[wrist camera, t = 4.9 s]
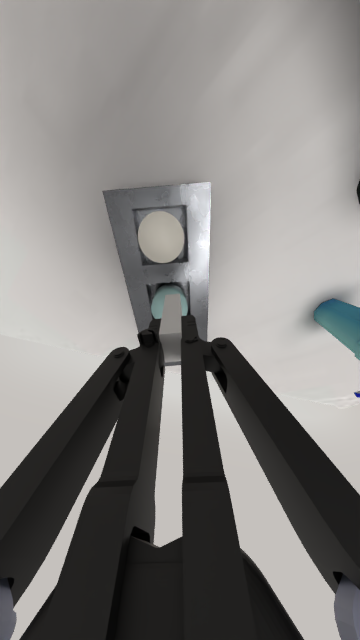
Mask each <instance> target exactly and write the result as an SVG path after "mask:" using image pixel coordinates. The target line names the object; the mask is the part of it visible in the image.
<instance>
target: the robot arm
mask: <svg viewBox="0 0 360 640" xmlns="http://www.w3.org/2000/svg"><path fill="white" fill-rule="evenodd" d="M137 336H138V339H139V342H140V347H138V348H136V349H133V350H130V351H129V350H128V349H127V348H126V347H119V348H116V349H115V350H113V351H112V352H111V353H110V354H109V355H108V356H107V358H106V359H105V360H104V361H103V363H102V364H101V365H100V366H99V368H98V369H97V370H96V371H95V372H94V374H93V375H92V376H91V377H90V379H89V380H88V381H87V382H86V384H85V385H84V386H83V387H82V388H81V390H80V391H79V392H78V393H77V395H76V396H75V397H74V399H73V400H72V401H71V402H70V403H69V404H68V406H67V407H66V408H65V409H64V411H63V412H62V413H61V414H60V415H59V417H58V418H57V419H56V420H55V422H54V423H53V424H52V425H51V427H50V428H49V429H48V430H47V431H46V433H45V434H44V435H43V436H42V438H41V439H40V440H39V441H38V443H37V444H36V445H35V446H34V447H33V449H32V450H31V451H30V453H29V454H28V455H27V456H26V457H25V459H24V460H23V461H22V462H21V464H20V465H19V466H18V467H17V468H16V470H15V471H14V472H13V473H12V475H11V476H10V477H9V478H8V480H7V481H6V482H5V483H4V485H3V486H2V487H1V488H0V640H10V638H11V636H12V634H13V632H14V628H15V624H16V613H15V612H14V611H13V608H14V606H15V605H16V603H17V602H18V600H19V599H20V597H21V596H22V594H23V593H24V592H25V590H26V589H27V587H28V586H29V584H30V583H31V581H32V579H33V578H34V576H35V574H36V573H37V571H38V570H39V568H40V566H41V565H42V563H43V562H44V560H45V558H46V556H47V555H48V553H49V551H50V549H51V547H52V545H53V544H54V542H55V540H56V538H57V536H58V534H59V532H60V530H61V529H62V526H63V525H64V523H65V521H66V519H67V517H68V515H69V513H70V511H71V509H72V507H73V505H74V503H75V501H76V499H77V497H78V495H79V493H80V492H81V490H82V488H83V486H84V484H85V482H86V480H87V478H88V476H89V474H90V472H91V470H92V468H93V466H94V464H95V462H96V460H97V458H98V457H99V454H100V453H101V450H102V449H103V447H104V445H105V443H106V441H107V439H108V437H109V435H110V433H111V431H112V429H113V427H114V425H115V423H116V422H117V424H116V428H115V431H114V434H113V438H112V441H111V445H110V448H109V451H108V455H107V458H106V461H105V465H104V468H103V471H102V474H101V477H100V479H99V481H98V482H97V483H96V484H95V485H94V486H93V487H92V488H91V490H90V491H89V493H88V495H87V497H86V500H85V502H84V505H83V507H82V510H81V513H80V517H79V520H78V523H77V525H76V529H75V531H74V534H73V538H72V541H71V543H70V546H69V549H68V553H67V556H66V559H65V562H64V565H63V568H62V571H61V574H60V577H59V580H58V583H57V585H56V587H55V588H54V590H53V591H52V592H51V594H50V595H49V597H48V599H47V600H46V602H45V603H44V604H43V606H42V608H41V609H40V610H39V612H38V613H37V615H36V616H35V617H34V619H33V620H32V622H31V623H30V625H29V626H28V628H27V629H26V631H25V632H24V634H23V635H22V637H21V638H20V640H304V639H303V637H302V636H301V634H300V632H299V631H298V629H297V628H296V626H295V625H294V623H293V621H292V620H291V618H290V617H289V615H288V614H287V612H286V610H285V609H284V607H283V605H282V604H281V602H280V601H279V599H278V597H277V596H276V594H275V593H274V591H273V590H272V588H271V586H270V585H269V584H268V582H267V580H266V578H265V577H264V575H263V574H262V572H261V571H260V570H259V568H258V567H257V566H256V564H255V563H254V562H253V561H252V559H251V558H250V557H249V556H248V555H247V554H246V553H245V552H244V551H243V550H242V549H241V548H240V546H239V540H238V534H237V530H236V524H235V519H234V514H233V508H232V503H231V498H230V493H229V488H228V484H227V480H226V477H225V474H224V469H223V465H222V459H221V454H220V448H219V442H218V437H217V431H216V425H215V420H214V415H213V409H212V403H211V399H210V393H209V387H208V382H207V376H206V371H209V372H212V375H213V377H214V379H215V380H216V382H217V384H218V386H219V388H220V390H221V392H222V394H223V396H224V397H225V399H226V401H227V403H228V405H229V407H230V409H231V411H232V413H233V414H234V416H235V418H236V420H237V422H238V424H239V426H240V428H241V429H242V432H243V433H244V435H245V437H246V439H247V441H248V443H249V445H250V447H251V449H252V450H253V452H254V454H255V456H256V458H257V460H258V462H259V464H260V466H261V467H262V469H263V471H264V473H265V475H266V477H267V479H268V481H269V483H270V485H271V486H272V488H273V490H274V492H275V494H276V496H277V498H278V500H279V502H280V503H281V505H282V507H283V509H284V511H285V513H286V515H287V517H288V518H289V520H290V522H291V524H292V526H293V528H294V530H295V532H296V533H297V535H298V537H299V539H300V540H301V542H302V544H303V546H304V548H305V549H306V551H307V553H308V554H309V556H310V557H311V559H312V561H313V562H314V564H315V565H316V567H317V568H318V570H319V571H320V573H321V574H322V576H323V578H324V579H325V581H326V582H327V583H328V585H329V586H330V587H331V589H332V590H333V592H334V593H335V594H336V595H335V601H334V611H335V620H336V623H337V627H338V631H339V635H340V637H341V640H360V495H359V494H358V493H357V491H356V490H355V489H354V488H353V487H352V486H351V484H350V483H349V482H348V481H347V480H346V478H345V477H344V476H343V475H342V473H340V471H339V470H338V469H337V468H336V466H335V465H334V464H333V463H332V462H331V460H330V459H329V458H328V457H327V456H326V454H325V453H324V452H323V451H322V450H321V448H320V447H319V446H318V445H317V444H316V442H315V441H314V440H313V439H312V438H311V437H310V435H309V434H308V433H307V432H306V431H305V429H304V428H303V427H302V426H301V425H300V423H299V422H298V421H297V420H296V419H295V417H294V416H293V415H292V414H291V413H290V411H288V409H287V408H286V407H285V406H284V404H283V403H282V402H281V401H280V400H279V399H278V397H277V396H276V395H275V394H274V392H273V391H272V390H271V389H270V388H269V386H268V385H267V384H266V383H265V382H264V380H263V379H262V378H261V377H260V376H259V374H258V373H257V372H256V371H255V370H254V369H253V367H252V366H251V365H250V364H249V363H248V361H247V360H246V359H245V358H244V357H243V355H242V354H241V353H240V352H239V351H238V349H237V348H236V347H235V346H234V345H233V343H232V342H231V341H230V340H228V339H226V338H216V339H214V340H213V341H212V342H207V341H204V340H202V339H200V338H199V335H198V330H197V325H196V319H195V317H194V316H193V315H186V316H182V307H181V299H180V293H179V294H170V295H165V300H164V306H163V312H162V318H160V319H153V320H152V321H151V322H150V324H149V327H148V329H145V330H142V331H141V332H139V333H138V335H137ZM164 359H165V363H166V362H177V361H181V379H182V429H183V483H182V528H183V529H182V530H183V531H182V532H183V536H182V537H180V538H178V539H176V540H174V541H172V542H170V543H168V544H166V545H164V546H162V547H158V546H156V545H153V542H154V529H155V497H154V495H155V480H156V468H157V456H158V445H159V433H160V421H161V409H162V397H163V385H164V373H165V366H164ZM117 420H118V421H117Z"/></svg>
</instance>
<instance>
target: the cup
mask: <svg viewBox="0 0 360 640" xmlns="http://www.w3.org/2000/svg"><path fill="white" fill-rule="evenodd" d="M314 320H315V321H316V322H318V323H319V324H320V325H321V326H322V327H324V328H325V329H326V330H327V331H328V332H330V333H331V334H332V335H333V336H334V337H336V338H337V339H338V340H339V341H340V342H341V343H343V344H344V345H345V346H346V347H347V348H349V349H350V350H351V351H352V352H353V353H355V357H356V358H357V359H359V360H360V308H359V307H356V306H353V305H350V304H347V303H345V302H342V301H339V300H336V299H331V300H328V301H326V302H323V303H321V304H320V306H319V307H318V308H317V309H316V310H315V311H314ZM354 394H355V395H356V397H357V398H360V391H358V392H354Z"/></svg>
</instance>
